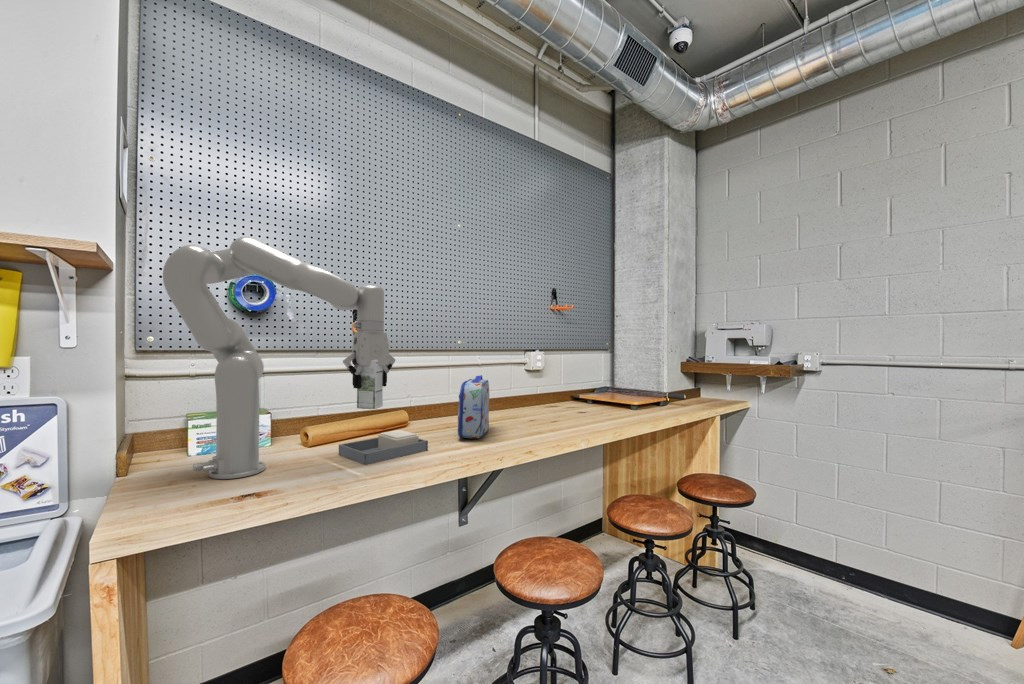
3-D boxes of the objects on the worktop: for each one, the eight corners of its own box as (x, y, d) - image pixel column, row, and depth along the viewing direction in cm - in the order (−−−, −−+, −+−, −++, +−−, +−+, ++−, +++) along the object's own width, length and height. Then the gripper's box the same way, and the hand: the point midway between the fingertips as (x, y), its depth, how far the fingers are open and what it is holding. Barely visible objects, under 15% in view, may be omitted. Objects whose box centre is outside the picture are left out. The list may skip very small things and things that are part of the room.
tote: (365, 468, 116) (365, 453, 116) (338, 458, 126) (338, 444, 126) (427, 453, 132) (427, 440, 132) (399, 445, 142) (399, 433, 142)
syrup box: (383, 406, 128) (383, 358, 128) (374, 409, 122) (375, 359, 122) (365, 405, 128) (365, 358, 128) (356, 408, 122) (356, 359, 123)
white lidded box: (396, 454, 126) (396, 438, 126) (378, 449, 133) (378, 433, 133) (418, 449, 132) (418, 433, 132) (399, 444, 139) (400, 429, 139)
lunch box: (465, 426, 174) (465, 373, 174) (490, 427, 174) (490, 373, 174) (454, 442, 147) (455, 379, 147) (484, 442, 147) (485, 379, 147)
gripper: (349, 326, 116) (348, 390, 116) (402, 328, 129) (402, 386, 129) (336, 327, 121) (335, 388, 121) (389, 328, 134) (388, 384, 134)
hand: (370, 386), depth 125 cm, fingers closed on syrup box, 7 cm apart
